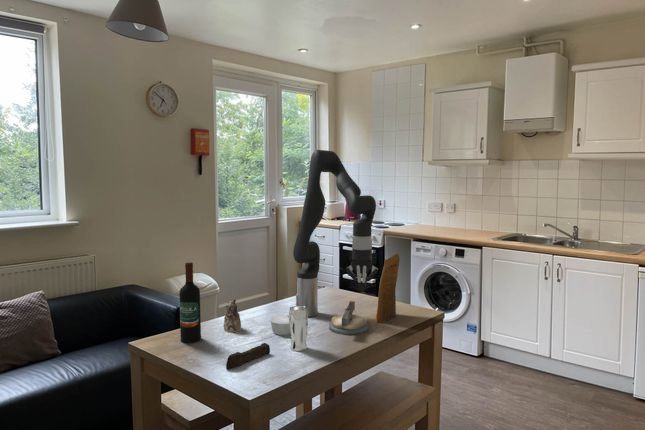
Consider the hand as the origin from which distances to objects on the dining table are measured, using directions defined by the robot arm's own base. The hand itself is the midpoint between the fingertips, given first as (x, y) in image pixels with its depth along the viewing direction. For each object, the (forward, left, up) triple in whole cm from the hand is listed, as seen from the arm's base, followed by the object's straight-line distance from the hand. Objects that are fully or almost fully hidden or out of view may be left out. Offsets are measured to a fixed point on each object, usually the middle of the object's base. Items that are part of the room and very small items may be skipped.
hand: (361, 291), depth 187 cm
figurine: (-54, +1, -19) cm, 57 cm away
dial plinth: (-7, +11, -18) cm, 22 cm away
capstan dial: (-7, +11, -17) cm, 21 cm away
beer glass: (-22, -15, -19) cm, 32 cm away
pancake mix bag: (+9, +27, -19) cm, 34 cm away
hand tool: (-35, -31, -19) cm, 50 cm away
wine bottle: (-65, -14, -19) cm, 69 cm away
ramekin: (-32, +2, -19) cm, 37 cm away
